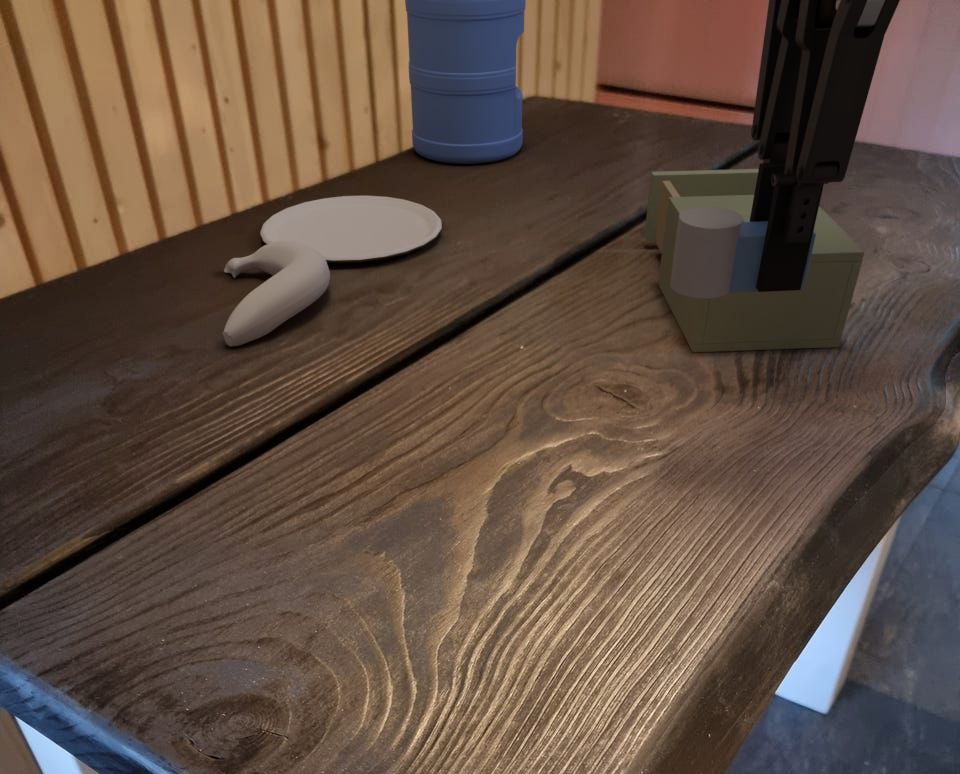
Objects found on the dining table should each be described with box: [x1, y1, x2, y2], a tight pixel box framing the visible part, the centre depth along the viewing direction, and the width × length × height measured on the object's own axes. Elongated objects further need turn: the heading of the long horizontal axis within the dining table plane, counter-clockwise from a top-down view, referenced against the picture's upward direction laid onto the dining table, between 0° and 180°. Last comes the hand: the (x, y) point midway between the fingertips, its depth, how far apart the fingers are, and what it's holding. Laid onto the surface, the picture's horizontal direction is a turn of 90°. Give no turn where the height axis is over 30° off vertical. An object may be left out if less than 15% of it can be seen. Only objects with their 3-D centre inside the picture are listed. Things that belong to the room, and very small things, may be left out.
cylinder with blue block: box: [670, 207, 816, 299], centre depth 59 cm, size 8×4×4 cm, turn 94°
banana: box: [221, 241, 331, 348], centre depth 91 cm, size 5×19×15 cm
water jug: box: [404, 0, 527, 165], centre depth 122 cm, size 16×16×28 cm
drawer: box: [643, 168, 759, 254], centre depth 97 cm, size 19×12×7 cm, turn 3°
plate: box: [259, 195, 443, 264], centre depth 106 cm, size 21×21×1 cm
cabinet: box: [657, 195, 865, 353], centre depth 87 cm, size 16×14×9 cm
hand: (770, 278), depth 61 cm, fingers closed on cylinder with blue block, 3 cm apart
